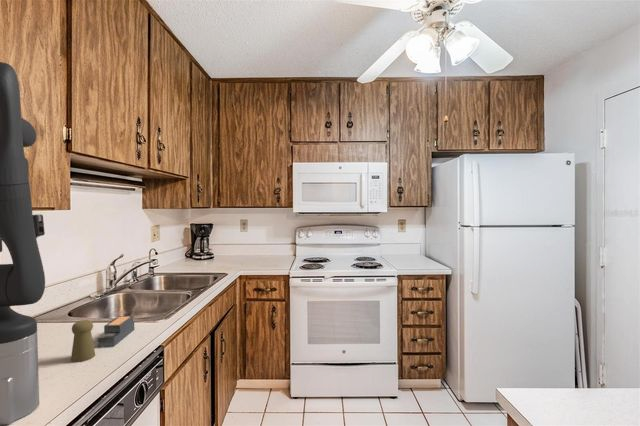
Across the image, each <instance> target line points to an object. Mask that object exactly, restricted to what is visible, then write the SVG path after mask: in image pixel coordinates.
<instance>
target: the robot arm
mask: <svg viewBox="0 0 640 426" xmlns="http://www.w3.org/2000/svg"><path fill="white" fill-rule="evenodd" d="M20 90H21V89H20V83H19V79H18V75H17V72H16V70H15V69H14V67H13V66H12V65H10V64H9V63H8V62H2V61H0V253H2V252H3V243H4V244H5V247H6V248H7V250H8V252H9V254H10V258H11V260H12V263H5V264H4V263H1V264H0V425H1V426H3V425H10V424H12V423H13V422H15V421H17V420H19V419H21V418H23V417H25V416H27V415H29V414H31V413H33V412H34V411H35V410H36V409H37V408H39V405H40V382H39V381H40V380H39V379H40V376H39V375H40V374H39V354H38V353H39V347H38V339H39V338H38V322H37V319H36V318H34V317H32V316H29V315H25V314H22V313H19V312H18V311H15V310H14V309H12V308H11V307H18V306H28V305H34V304H36V303H38V302H39V301H41V300H42V297H43V295H44V293H45V290H46V289H45V288H46V276H45V270H44V266H43V261H42V257H41V253H40V248H39V244H38V241H37V240H38V239H37V238H39V237H42V236H44V235H45V233H46V231H45V224H44V223H45V222H44V215H43V214H40V213H39V214H33V205H32V192H31V183H30V176H29V175H30V173H29V160H28V158H26V155H25V148H29V147H31V146H33V145H34V144H35V143H36V142H37V131H36V130H35V128H34V126H33V125H32V123H30V122H29V121H28V120H27V119H24V118H23V117H22V107H21V93H20Z"/></svg>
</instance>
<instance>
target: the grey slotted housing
mask: <svg viewBox="0 0 640 426" xmlns="http://www.w3.org/2000/svg"><path fill="white" fill-rule="evenodd" d="M119 317H130V318H128V319H127V320H125V321H124V322H123V323H121V324H120V325H108V324H110V323H111V322H113V321H114V320H116V319H117V318H119ZM134 331H135V321H134V315H118V316H117V317H116V318H114V319H112V320H110V321H109V322H107V323H106V324H105V325H104V326H103V334H101V335H100V336H99V337H97V348H109V347H110V348H111V347H115V346H117V345H118V344H119V343H121V341H123V340H124V339H125V338H127V337H128V336H129V335H130V334H131V333H132V332H134Z"/></svg>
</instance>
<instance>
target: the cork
mask: <svg viewBox="0 0 640 426" xmlns="http://www.w3.org/2000/svg"><path fill="white" fill-rule="evenodd" d="M93 323H94V322H92V320H88V319H86V320H85V319H83V320H79V321H76V322H74V323H73V324H72V325H71V332H72V334H73V340H72V341H73V342H72V347H71V355H70V356H71V357H70V362H72V363H82V362H86V361H89V360H91V359H94V357H95V356H96V352H95V347H94V340H93V336H92V330H93V328H94V325H93Z"/></svg>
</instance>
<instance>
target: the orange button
mask: <svg viewBox="0 0 640 426" xmlns="http://www.w3.org/2000/svg"><path fill="white" fill-rule="evenodd" d="M116 318H117V317H116ZM128 318H130V317H119V318H117V319H116V320H114V319H113V320H114V321H113V322H111V321H110V322H111V323H110V324H108V323H107V324H108V325H120V324H121V323H123V322H124V321H125V320H127V319H128Z"/></svg>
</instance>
